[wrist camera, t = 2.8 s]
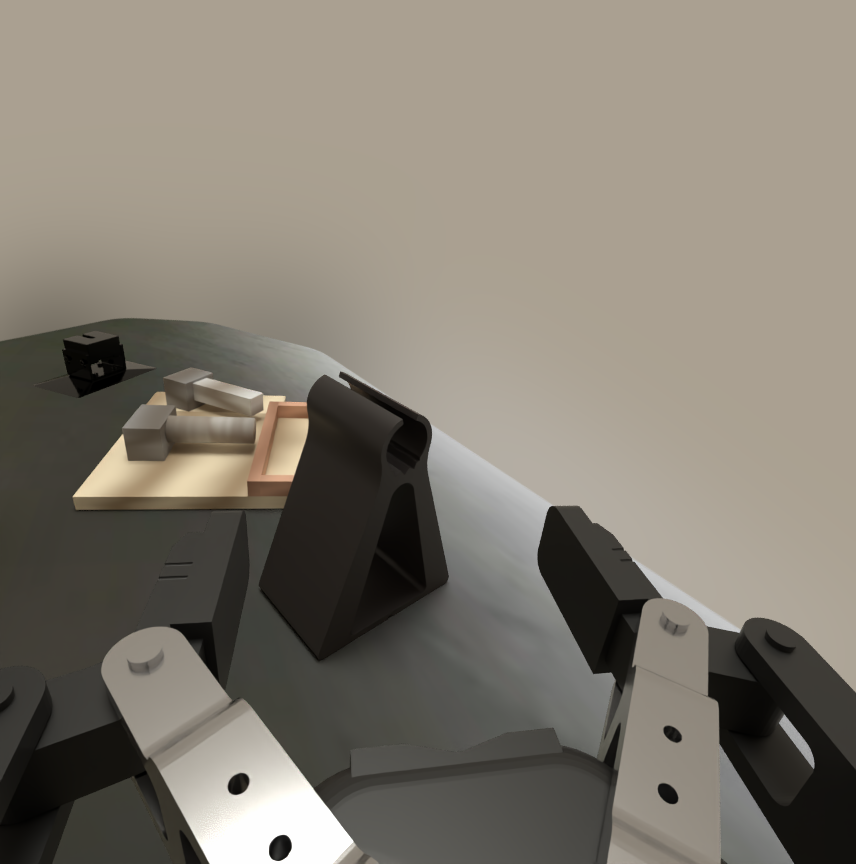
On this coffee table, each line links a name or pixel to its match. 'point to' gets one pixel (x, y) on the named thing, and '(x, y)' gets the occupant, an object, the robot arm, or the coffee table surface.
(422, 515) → the phone stand
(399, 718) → the coffee table surface
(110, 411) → the coffee table surface
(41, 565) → the coffee table surface
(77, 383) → the black slotted box
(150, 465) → the stand
